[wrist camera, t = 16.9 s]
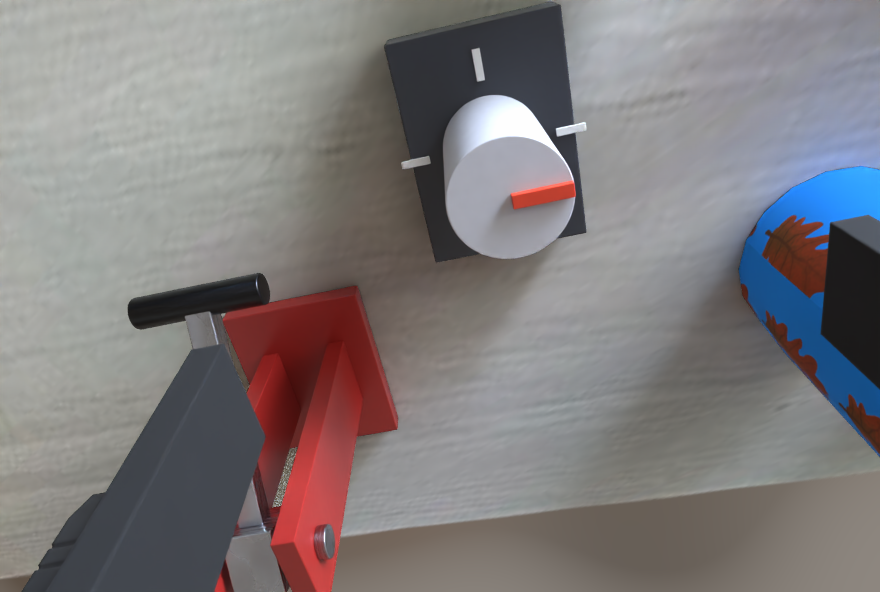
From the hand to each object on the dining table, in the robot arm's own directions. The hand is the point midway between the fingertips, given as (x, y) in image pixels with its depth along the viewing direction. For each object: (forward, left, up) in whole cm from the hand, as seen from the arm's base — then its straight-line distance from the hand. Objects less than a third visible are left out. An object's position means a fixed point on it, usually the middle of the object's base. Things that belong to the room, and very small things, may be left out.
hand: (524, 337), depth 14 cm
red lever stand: (+13, -12, -21) cm, 27 cm away
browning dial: (+1, +1, -18) cm, 18 cm away
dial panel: (+1, +1, -21) cm, 21 cm away
